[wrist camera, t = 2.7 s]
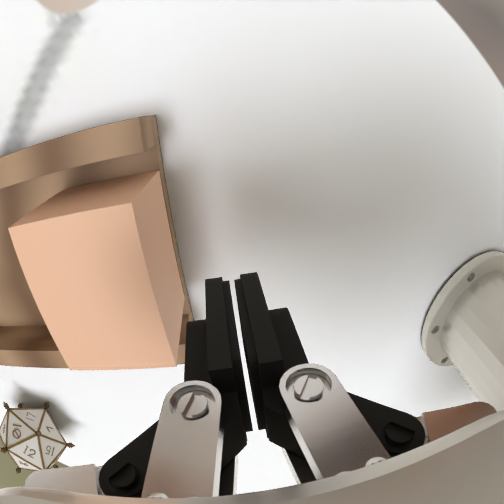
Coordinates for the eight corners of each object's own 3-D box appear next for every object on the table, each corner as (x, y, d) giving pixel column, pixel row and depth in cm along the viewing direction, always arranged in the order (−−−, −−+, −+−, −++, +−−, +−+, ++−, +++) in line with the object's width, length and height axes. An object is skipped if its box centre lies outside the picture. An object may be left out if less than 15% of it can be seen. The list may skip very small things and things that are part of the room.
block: (159, 170, 16) (131, 202, 11) (184, 297, 20) (176, 366, 14) (62, 189, 16) (7, 228, 10) (98, 306, 19) (70, 369, 14)
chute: (155, 113, 16) (133, 115, 12) (194, 324, 22) (192, 373, 18) (-77, 193, 15) (-113, 213, 10) (-22, 335, 21) (-44, 367, 17)
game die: (52, 397, 30) (24, 460, 24) (2, 367, 24) (-30, 439, 18) (99, 431, 27) (68, 502, 21) (43, 407, 20) (7, 491, 15)
